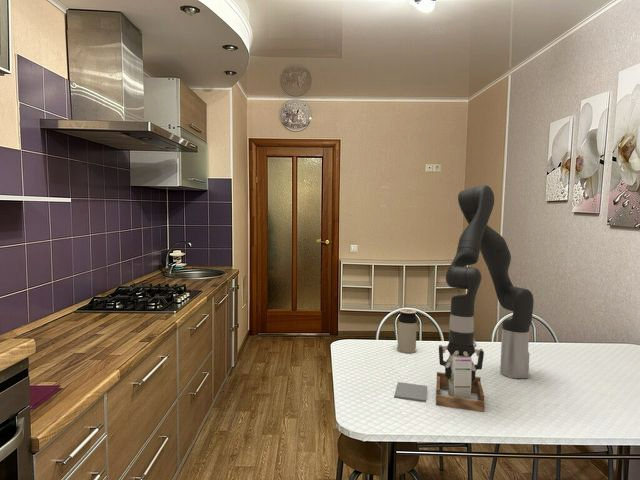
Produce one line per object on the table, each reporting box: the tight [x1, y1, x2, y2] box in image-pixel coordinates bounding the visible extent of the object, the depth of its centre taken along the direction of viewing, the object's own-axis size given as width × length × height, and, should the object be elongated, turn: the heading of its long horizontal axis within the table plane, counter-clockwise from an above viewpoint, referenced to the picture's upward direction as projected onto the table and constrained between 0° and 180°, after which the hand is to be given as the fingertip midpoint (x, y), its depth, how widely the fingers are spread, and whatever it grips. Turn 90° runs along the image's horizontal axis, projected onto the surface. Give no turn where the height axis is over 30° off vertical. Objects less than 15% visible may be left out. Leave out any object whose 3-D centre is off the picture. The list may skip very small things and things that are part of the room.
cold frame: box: [435, 371, 485, 413], centre depth 130 cm, size 14×14×6 cm
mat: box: [393, 381, 428, 403], centre depth 135 cm, size 10×12×1 cm
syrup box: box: [447, 352, 473, 399], centre depth 130 cm, size 6×6×14 cm
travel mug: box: [396, 308, 418, 354], centre depth 179 cm, size 8×8×18 cm
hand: (459, 379), depth 130 cm, fingers closed on syrup box, 6 cm apart
